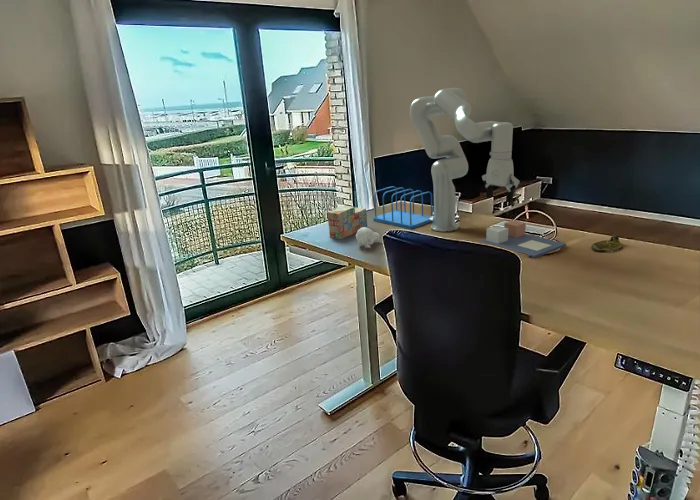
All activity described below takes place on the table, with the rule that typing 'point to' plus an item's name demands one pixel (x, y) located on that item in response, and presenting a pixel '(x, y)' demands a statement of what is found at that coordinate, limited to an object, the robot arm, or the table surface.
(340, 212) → the stack of blocks
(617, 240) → the seal
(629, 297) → the table surface
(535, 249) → the board
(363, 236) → the white animal figurine
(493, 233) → the base block
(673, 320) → the table surface
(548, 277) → the table surface
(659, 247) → the table surface
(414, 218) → the file sorter
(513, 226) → the top block
